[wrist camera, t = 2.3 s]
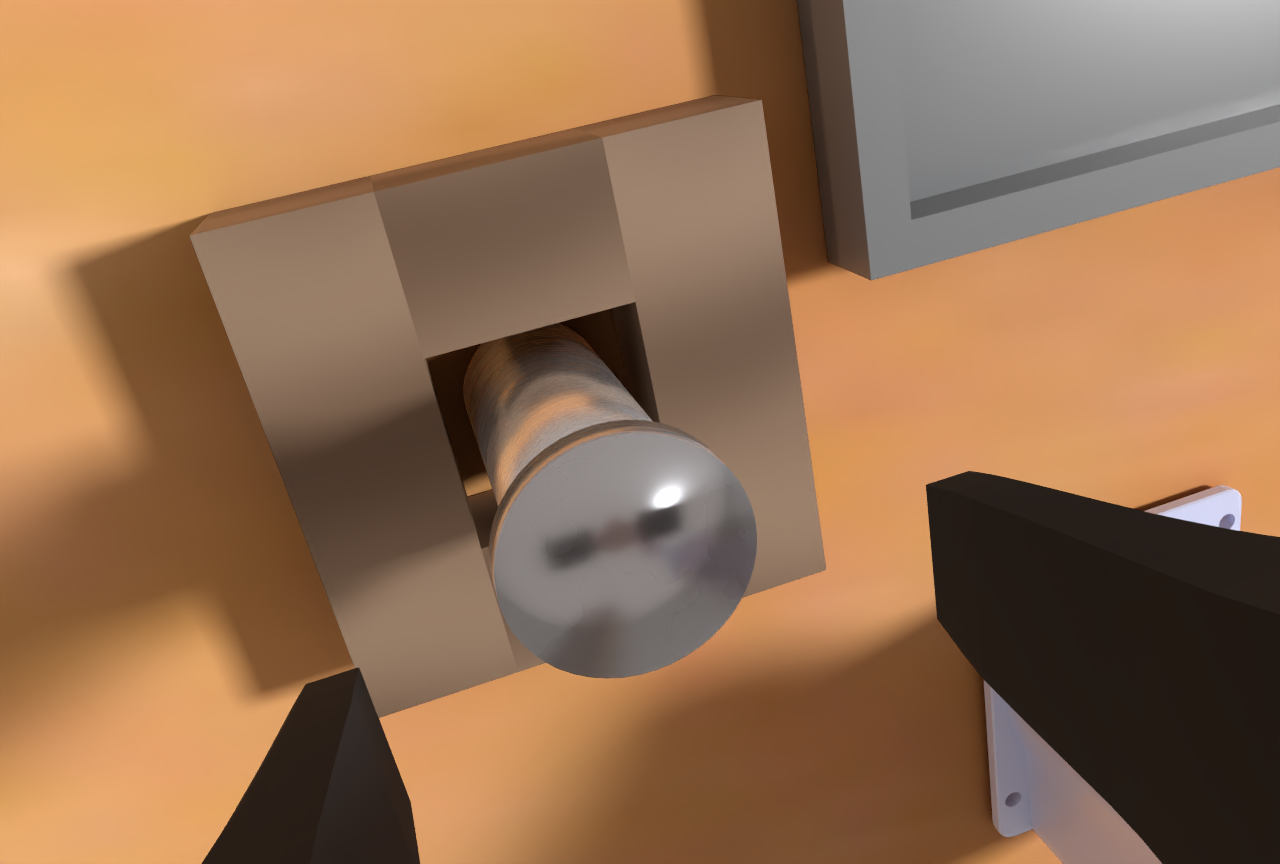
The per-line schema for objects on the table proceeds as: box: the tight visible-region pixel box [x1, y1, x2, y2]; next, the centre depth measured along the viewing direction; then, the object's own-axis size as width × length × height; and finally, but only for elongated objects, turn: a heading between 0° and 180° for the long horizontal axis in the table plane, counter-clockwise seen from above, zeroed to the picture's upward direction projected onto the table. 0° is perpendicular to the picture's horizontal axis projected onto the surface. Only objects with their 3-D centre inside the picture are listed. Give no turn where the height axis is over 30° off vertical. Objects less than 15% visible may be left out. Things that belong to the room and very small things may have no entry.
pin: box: [463, 323, 757, 678], centre depth 17 cm, size 4×4×8 cm
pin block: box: [189, 95, 826, 718], centre depth 20 cm, size 10×10×2 cm
